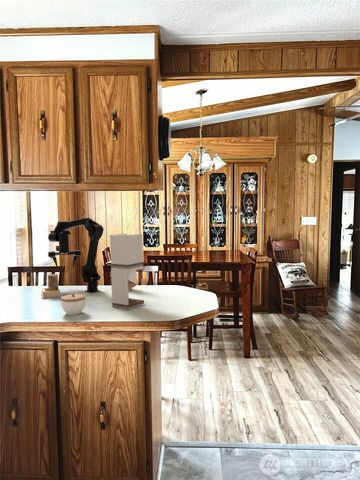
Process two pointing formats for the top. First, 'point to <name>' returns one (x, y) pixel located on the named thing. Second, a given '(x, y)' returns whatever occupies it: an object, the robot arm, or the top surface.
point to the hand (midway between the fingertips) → (65, 267)
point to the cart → (52, 282)
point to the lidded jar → (73, 303)
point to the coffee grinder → (125, 268)
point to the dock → (50, 293)
